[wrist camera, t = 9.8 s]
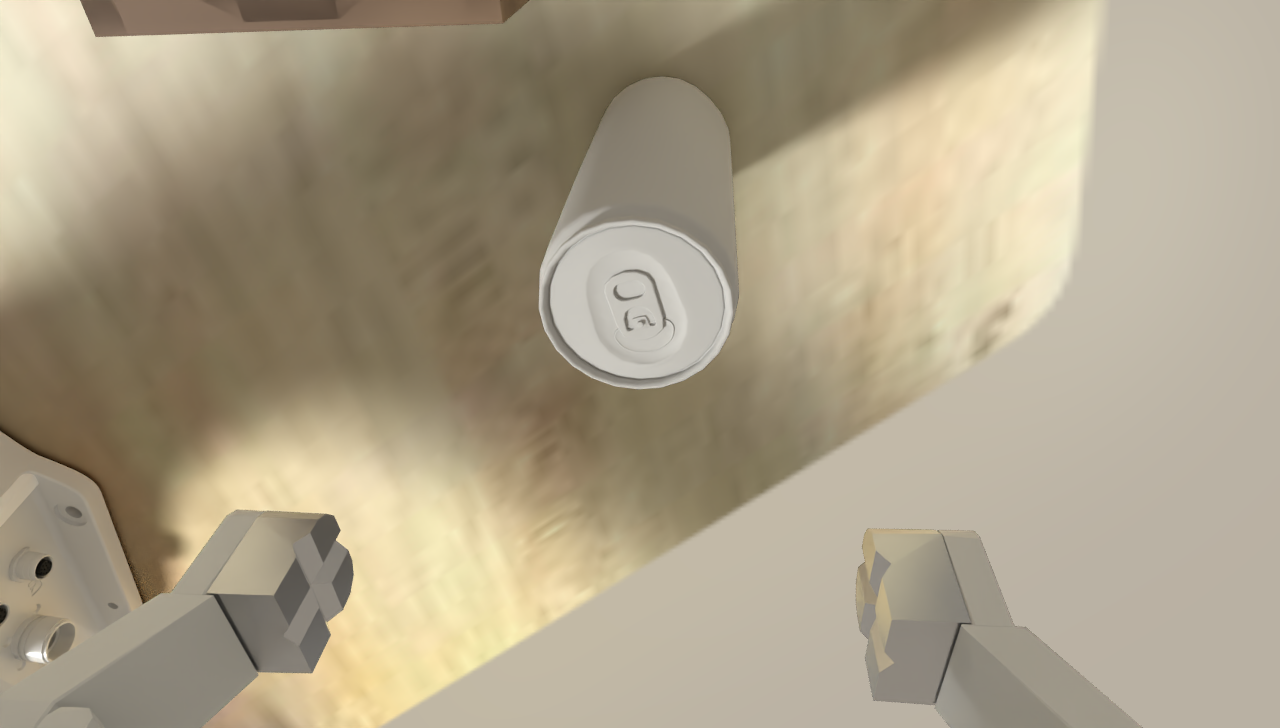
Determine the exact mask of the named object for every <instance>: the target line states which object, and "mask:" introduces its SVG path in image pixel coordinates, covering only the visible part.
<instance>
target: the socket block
mask: <svg viewBox="0 0 1280 728" xmlns="http://www.w3.org/2000/svg"><path fill="white" fill-rule="evenodd" d="M80 1H81V3H82V6H83V8H84V10H85V13H86V15H87V17H88V20H89V22H90V24H91V27H92V29H93V31H94V34H95V36H96V37H106V36H137V35H167V34H197V33H227V32H257V31H288V30H318V29H348V28H378V27H408V26H438V25H469V24H499V23H504V22H505V21H506V20H507V19H508V18H510V17H511V16H512V15H513V14H514V13H515V12H516V11H518V10H519V9H520V8H521V7H522V6H523V5H524V4H526V3H527V2H528V1H529V0H80Z"/></svg>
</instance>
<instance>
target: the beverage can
mask: <svg viewBox="0 0 1280 728" xmlns="http://www.w3.org/2000/svg"><path fill="white" fill-rule="evenodd" d="M738 298H739V283H738V266H737V248H736V230H735V213H734V195H733V177H732V159H731V144H730V135H729V129H728V126H727V124H726V122H725V120H724V118H723V116H722V113H721V112H720V111H719V109H718V108H717V107H716V106H715V104H714V103H713V102H712V101H711V99H710V98H709V97H708V96H706V95H705V94H704V93H703V92H702V91H701V90H699V89H698V88H697V87H696V86H694V85H692V84H690V83H688V82H686V81H683V80H681V79H678V78H670V77H663V76H661V77H653V78H646V79H642V80H640V81H638V82H636V83H633V84H631V85H629V86H627V87H626V88H625V89H624V90H622V91H621V92H620V93H619V94H618V95H617V96H615V97H614V99H613V100H612V102H611V103H610V105H609V106H608V108H607V109H606V111H605V113H604V115H603V117H602V120H601V122H600V124H599V126H598V129H597V131H596V133H595V135H594V138H593V140H592V142H591V144H590V147H589V149H588V151H587V153H586V156H585V158H584V160H583V162H582V165H581V167H580V169H579V172H578V174H577V176H576V179H575V181H574V184H573V186H572V188H571V191H570V193H569V196H568V198H567V201H566V203H565V206H564V208H563V210H562V213H561V215H560V218H559V220H558V223H557V225H556V228H555V230H554V233H553V235H552V238H551V240H550V242H549V245H548V248H547V251H546V253H545V256H544V259H543V262H542V265H541V268H540V284H539V311H540V315H541V319H542V323H543V327H544V330H545V332H546V334H547V335H548V337H549V339H550V340H551V342H552V344H553V345H554V347H555V349H556V350H557V351H558V352H559V353H560V354H561V355H562V356H563V357H564V358H565V359H566V360H567V361H568V362H569V363H570V364H571V365H572V366H573V367H575V368H576V369H578V370H580V371H581V372H583V373H584V374H586V375H588V376H589V377H591V378H593V379H596V380H598V381H601V382H604V383H607V384H610V385H612V386H616V387H624V388H632V389H649V388H661V387H665V386H668V385H671V384H674V383H678V382H681V381H684V380H686V379H687V378H689V377H691V376H692V375H694V374H696V373H697V372H699V371H701V370H703V369H704V368H705V367H706V366H707V365H708V364H709V363H710V362H711V361H712V360H713V359H714V358H715V357H716V356H717V355H718V354H719V352H720V350H721V349H722V347H723V345H724V343H725V341H726V339H727V338H728V336H729V334H730V330H731V325H732V322H733V320H734V318H735V313H736V308H737V303H738Z"/></svg>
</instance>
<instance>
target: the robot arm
mask: <svg viewBox="0 0 1280 728" xmlns="http://www.w3.org/2000/svg"><path fill="white" fill-rule="evenodd" d="M340 531H341V530H340V528H339V526H338V524H337V521H336V519H335V517H334V516H333V515H329V514H319V513H300V512H282V511H255V510H235V511H234V512H232V513H230V514H229V515H227V516H226V517H225V519H224V520H223V521H222V523H221V524H220V525H219V527H218V528H217V530H216V531H215V532H214V534H213V535H212V536H211V538H210V539H209V541H208V542H207V543H206V545H205V546H204V547H203V549H202V550H201V552H200V553H199V554H198V556H197V557H196V559H195V560H194V561H193V563H192V564H191V565H190V567H189V568H188V570H187V571H186V572H185V574H184V575H183V576H182V578H181V579H180V581H179V582H178V583H177V585H176V586H175V587H174V589H173V590H172V592H171V593H160V594H159V595H157V596H155V597H154V598H152V599H151V600H149V601H148V602H146V603H144V604H143V603H142V600H141V598H140V595H139V592H138V590H137V587H136V584H135V582H134V579H133V576H132V573H131V571H130V568H129V565H128V563H127V560H126V557H125V555H124V552H123V549H122V547H121V544H120V541H119V539H118V536H117V533H116V531H115V528H114V525H113V523H112V520H111V517H110V514H109V512H108V509H107V506H106V504H105V501H104V498H103V496H102V493H101V491H100V489H99V487H98V486H97V485H96V484H95V483H94V482H93V481H92V480H91V479H89V478H88V477H87V476H85V475H83V474H81V473H79V472H77V471H75V470H73V469H71V468H69V467H66V466H64V465H62V464H59V463H57V462H54V461H52V460H49V459H47V458H44V457H42V456H39V455H37V454H35V453H33V452H31V451H30V450H28V449H26V448H25V447H23V446H22V445H20V444H18V443H17V442H15V441H14V440H12V439H11V438H10V437H8V436H7V435H5V434H4V433H2V432H1V431H0V728H201V727H202V726H204V725H205V724H206V723H207V722H208V721H209V720H210V719H211V718H212V717H213V716H215V715H216V714H217V713H218V712H219V711H220V710H221V709H222V708H223V707H224V706H225V705H227V704H228V703H229V702H230V701H231V700H232V699H233V698H234V697H235V696H236V695H238V694H239V693H240V692H241V691H242V690H243V689H244V688H245V687H246V686H247V685H248V684H250V683H251V682H252V681H253V680H254V679H255V678H256V677H257V676H258V673H257V672H276V673H313V671H314V668H315V666H316V664H317V662H318V660H319V658H320V656H321V654H322V652H323V650H324V648H325V646H326V644H327V642H328V640H329V638H330V636H331V634H330V630H329V627H328V623H327V622H328V621H329V620H330V619H332V618H333V617H334V616H336V615H337V614H338V613H339V612H341V611H342V610H343V608H344V606H345V604H346V602H347V600H348V597H349V595H350V592H351V586H352V581H353V575H354V574H353V564H352V559H351V556H350V554H349V551H348V550H347V549H346V548H345V547H344V546H342V545H341V544H340V543H338V542H337V541H336V538H337V536H338V534H339V532H340ZM862 549H863V554H864V559H865V562H864V563H863V564H862V565H860V566H859V567H858V572H857V579H856V608H857V617H858V623H859V628H860V631H861V632H862V633H863V635H864V636H865V637H866V638H867V639H868V645H867V650H866V655H865V661H866V666H867V671H868V676H869V681H870V687H871V692H872V697H873V700H874V701H875V700H876V701H887V702H901V703H914V704H927V705H935V709H936V710H937V712H938V713H939V714H940V716H941V717H942V718H943V719H944V720H945V721H946V723H947V724H948V726H949V727H950V728H1143V727H1141V726H1140V725H1139V724H1138V723H1137V722H1136V721H1134V720H1133V719H1132V718H1131V717H1130V716H1129V715H1127V714H1126V713H1125V712H1124V711H1123V710H1122V709H1120V708H1119V707H1118V706H1117V705H1116V704H1115V703H1113V702H1112V701H1111V700H1110V699H1109V698H1108V697H1106V696H1105V695H1104V694H1103V693H1102V692H1100V690H1098V689H1097V688H1096V687H1095V686H1094V685H1093V684H1091V683H1090V682H1089V681H1088V680H1087V679H1086V678H1084V677H1083V676H1082V675H1081V674H1080V673H1079V672H1077V671H1076V670H1075V669H1074V668H1073V667H1072V666H1070V665H1069V664H1068V663H1067V662H1066V661H1064V660H1063V659H1062V658H1061V657H1060V656H1059V655H1058V654H1056V653H1055V652H1054V651H1053V650H1052V649H1051V648H1050V647H1048V646H1047V645H1046V644H1045V643H1044V642H1042V641H1041V640H1040V639H1039V638H1038V637H1037V636H1036V635H1034V634H1033V633H1032V632H1031V631H1030V630H1029V629H1027V628H1026V627H1017V626H1014V624H1013V621H1012V619H1011V616H1010V613H1009V611H1008V608H1007V606H1006V603H1005V601H1004V598H1003V596H1002V593H1001V590H1000V588H999V585H998V583H997V580H996V577H995V575H994V572H993V570H992V567H991V565H990V562H989V560H988V558H987V554H986V552H985V549H984V547H983V544H982V542H981V540H980V537H979V536H978V534H977V533H976V532H975V531H958V530H957V531H956V530H938V531H936V530H921V529H867V530H866V532H865V534H864V539H863V544H862Z"/></svg>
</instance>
